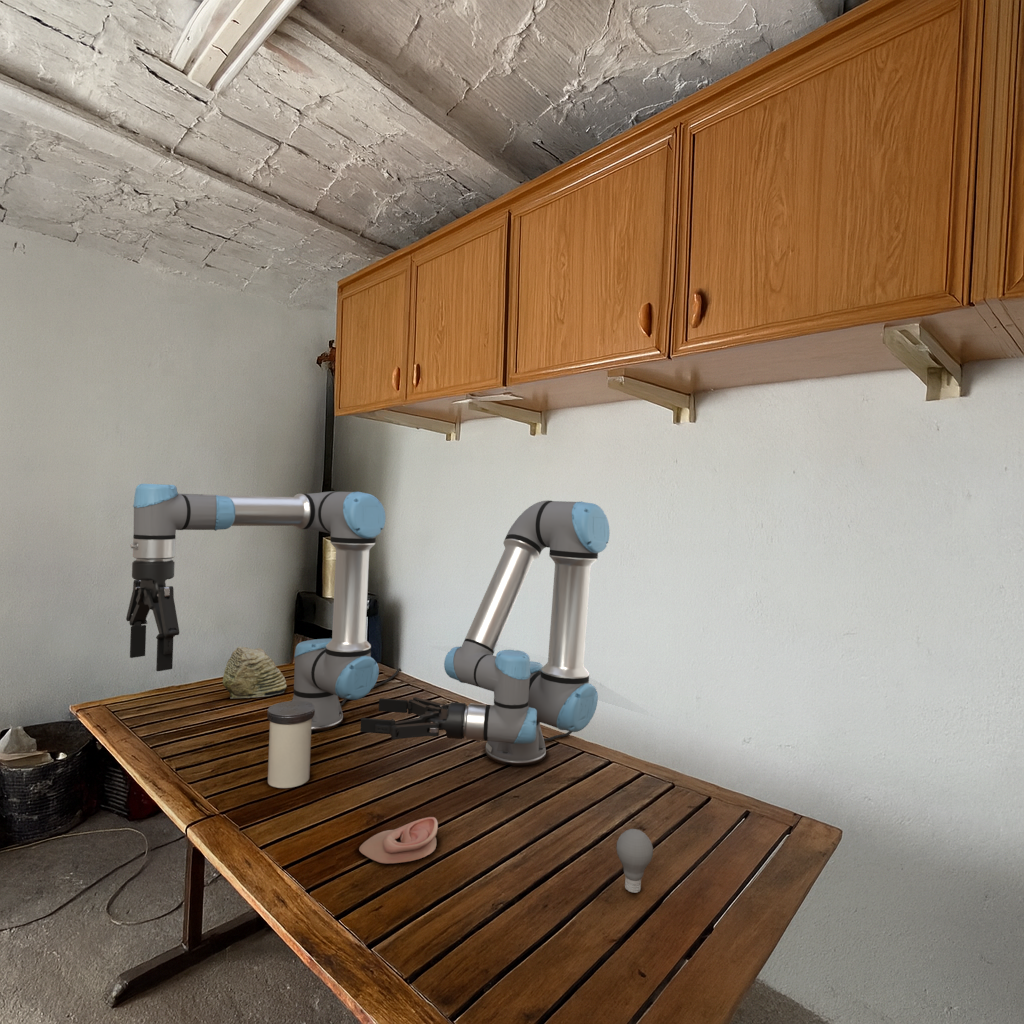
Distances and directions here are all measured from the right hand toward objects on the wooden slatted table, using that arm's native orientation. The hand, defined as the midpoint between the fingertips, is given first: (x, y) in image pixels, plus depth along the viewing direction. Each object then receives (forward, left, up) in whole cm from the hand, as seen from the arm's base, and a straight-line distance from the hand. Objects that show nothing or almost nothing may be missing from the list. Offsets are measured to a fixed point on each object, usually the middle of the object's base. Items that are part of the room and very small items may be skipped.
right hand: (370, 714), depth 140 cm
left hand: (+44, -6, +12) cm, 46 cm away
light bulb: (-36, +51, -16) cm, 64 cm away
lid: (+16, -8, 0) cm, 18 cm away
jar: (+16, -8, -16) cm, 24 cm away
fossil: (+25, -72, -16) cm, 77 cm away
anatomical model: (-2, +27, -16) cm, 31 cm away
